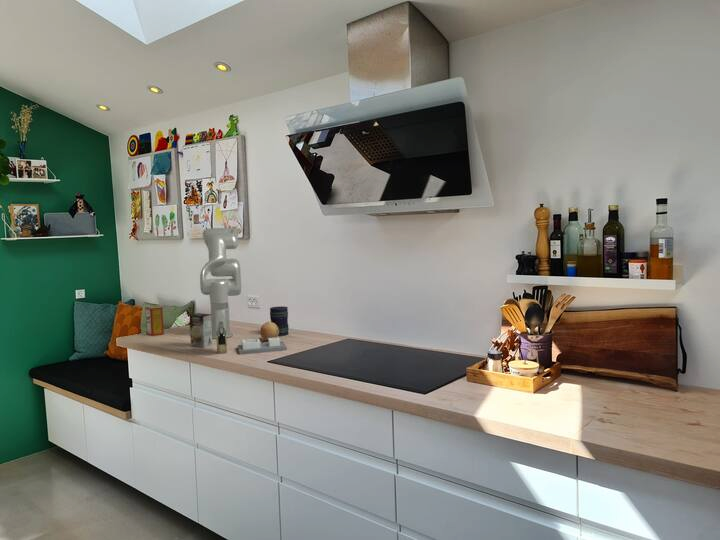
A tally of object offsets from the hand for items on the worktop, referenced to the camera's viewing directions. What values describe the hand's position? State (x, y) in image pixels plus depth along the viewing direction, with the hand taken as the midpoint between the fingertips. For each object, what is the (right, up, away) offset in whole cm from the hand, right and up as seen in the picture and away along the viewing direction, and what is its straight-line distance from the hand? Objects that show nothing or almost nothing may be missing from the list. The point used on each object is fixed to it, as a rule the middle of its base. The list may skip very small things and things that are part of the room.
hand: (221, 342), depth 238 cm
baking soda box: (-52, -3, +52) cm, 74 cm away
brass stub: (0, -5, +1) cm, 5 cm away
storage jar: (+21, -2, +40) cm, 45 cm away
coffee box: (-15, -4, +17) cm, 23 cm away
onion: (+18, -3, +25) cm, 31 cm away
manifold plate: (+18, -4, +6) cm, 19 cm away
